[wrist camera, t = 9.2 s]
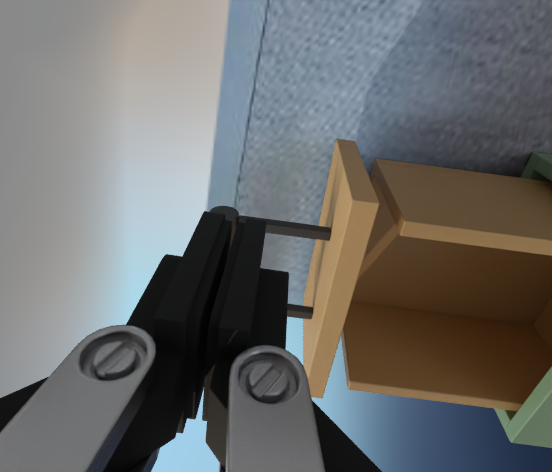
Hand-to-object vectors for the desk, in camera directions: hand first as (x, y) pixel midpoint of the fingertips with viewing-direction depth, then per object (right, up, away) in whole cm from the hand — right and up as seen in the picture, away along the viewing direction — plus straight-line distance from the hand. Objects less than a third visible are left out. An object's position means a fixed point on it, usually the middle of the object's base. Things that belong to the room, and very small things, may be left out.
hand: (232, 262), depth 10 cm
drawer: (+10, 0, +17) cm, 20 cm away
